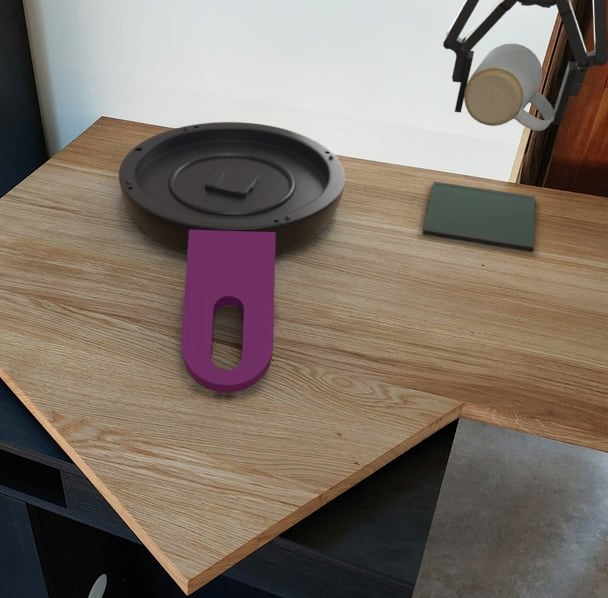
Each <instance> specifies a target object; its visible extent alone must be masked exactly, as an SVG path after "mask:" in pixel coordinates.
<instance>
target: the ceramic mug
mask: <svg viewBox="0 0 608 598" xmlns="http://www.w3.org/2000/svg"><path fill="white" fill-rule="evenodd" d="M542 81H543V69H542V63H541V62H540V60H539V58H538V57H537V55H536V54H535V53H534V52H533V51H532V50H531V49H530V48H528V47H526V46H525V45H522V44H518V43H504V44H501V45H499V46H496V47H494V48H493V49H491V50H490V51H489V52H488V53H487V54H486V55H485V57H484V58H483V59H482V61H481V62H480V64H479V65H478V67H477V68H476V69H475V71H474V72H473V73H472V75H470V77H469V78H468V83H467V86H466V89H465V94H464V101H463V102H464V105H465V109H466V110H467V113H468V114H469V116H470V117H471V118H472V119H473V120H475V121H476V122H478V123H479V124H482V125H485V126H491V127H495V126H496V127H497V126H502V125H505V124H507V123H509V122H510V121H512V120H515V121H517V123H518V124H520V125H521V126H522V127H523V126H524V127H525V128H527V129H529V130H532V131H536V132H538V131H539V132H541V131H545V130H546V129H547V128H548V127H549V126H550V124H552V123H553V120H554V117H555V112H554V107H553V106H552V104H551V103H550V101H548V99H547V98H546V97H545V96H544V95H542V93H541V92H539V90H540V87H541V85H542ZM529 104H531V105H532V106H533V107H534V108H535V109H536V110H537V111H538V112H539V113H540V115H541V116H542V118H543V119H540V118H538V117H536V116H535V115H533V114H530V113H529V112H528V111H526V110H525V108H526V107H527V105H529Z"/></svg>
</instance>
